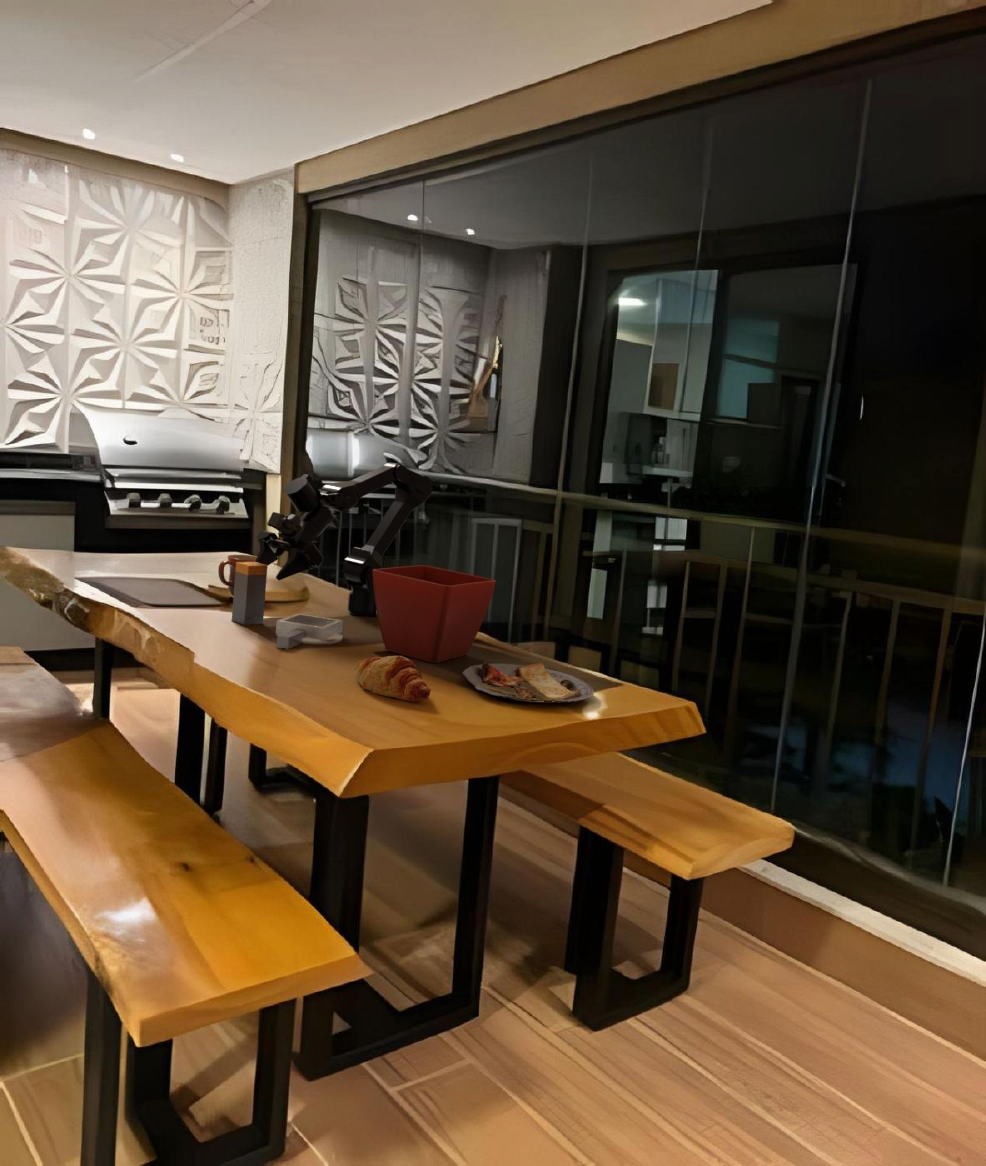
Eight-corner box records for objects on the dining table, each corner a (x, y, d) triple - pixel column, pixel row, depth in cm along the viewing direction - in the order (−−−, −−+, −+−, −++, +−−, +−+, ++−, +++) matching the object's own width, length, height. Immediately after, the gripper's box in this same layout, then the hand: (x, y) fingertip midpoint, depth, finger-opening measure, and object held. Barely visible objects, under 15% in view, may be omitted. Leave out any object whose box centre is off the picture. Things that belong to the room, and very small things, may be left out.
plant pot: (489, 657, 206) (498, 579, 204) (439, 670, 190) (448, 585, 187) (416, 639, 216) (423, 564, 213) (362, 650, 199) (370, 569, 197)
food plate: (449, 670, 190) (451, 652, 190) (559, 675, 198) (561, 658, 197) (486, 711, 167) (489, 691, 166) (609, 715, 174) (612, 696, 174)
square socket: (292, 626, 214) (293, 610, 214) (351, 636, 211) (353, 620, 211) (249, 643, 194) (250, 626, 194) (315, 653, 191) (316, 636, 191)
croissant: (342, 695, 177) (327, 658, 174) (383, 666, 183) (370, 630, 179) (413, 726, 162) (398, 687, 159) (456, 694, 167) (443, 655, 164)
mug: (245, 594, 246) (248, 554, 245) (268, 600, 241) (271, 559, 239) (206, 597, 236) (209, 555, 235) (228, 603, 231) (232, 561, 230)
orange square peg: (250, 619, 217) (254, 561, 215) (262, 623, 214) (267, 565, 212) (231, 620, 213) (236, 562, 211) (244, 625, 210) (248, 565, 208)
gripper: (267, 495, 222) (221, 543, 216) (317, 506, 210) (270, 556, 203) (292, 530, 229) (248, 577, 223) (342, 542, 217) (297, 592, 210)
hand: (264, 575), depth 215 cm, fingers open, 9 cm apart
